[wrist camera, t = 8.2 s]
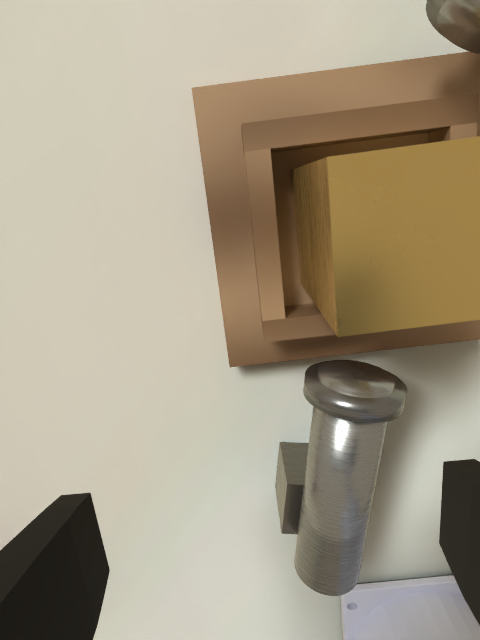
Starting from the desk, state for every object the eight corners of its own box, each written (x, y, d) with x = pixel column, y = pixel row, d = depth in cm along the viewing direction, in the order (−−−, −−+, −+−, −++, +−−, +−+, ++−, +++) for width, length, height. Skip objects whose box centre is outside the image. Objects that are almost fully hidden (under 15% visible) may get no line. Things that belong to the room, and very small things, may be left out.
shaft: (290, 331, 17) (315, 395, 12) (367, 335, 17) (426, 400, 12) (274, 491, 20) (289, 605, 14) (342, 494, 20) (381, 608, 14)
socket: (468, 330, 17) (506, 353, 15) (230, 357, 17) (229, 383, 15) (483, 57, 14) (532, 30, 12) (194, 94, 14) (186, 75, 12)
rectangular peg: (407, 269, 15) (509, 316, 10) (300, 282, 15) (337, 336, 10) (406, 154, 14) (521, 130, 8) (290, 170, 14) (327, 157, 9)
